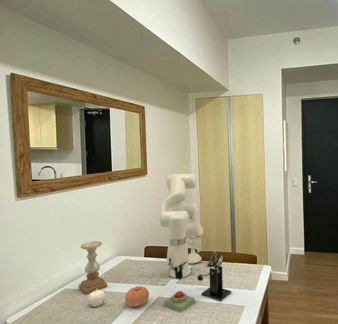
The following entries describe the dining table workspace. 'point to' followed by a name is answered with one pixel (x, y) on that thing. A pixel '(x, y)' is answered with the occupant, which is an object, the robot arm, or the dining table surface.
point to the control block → (179, 302)
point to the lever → (200, 277)
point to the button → (179, 294)
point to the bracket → (216, 285)
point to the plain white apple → (96, 297)
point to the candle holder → (92, 270)
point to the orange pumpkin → (137, 296)
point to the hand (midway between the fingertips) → (178, 278)
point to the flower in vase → (194, 256)
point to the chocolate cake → (215, 259)
